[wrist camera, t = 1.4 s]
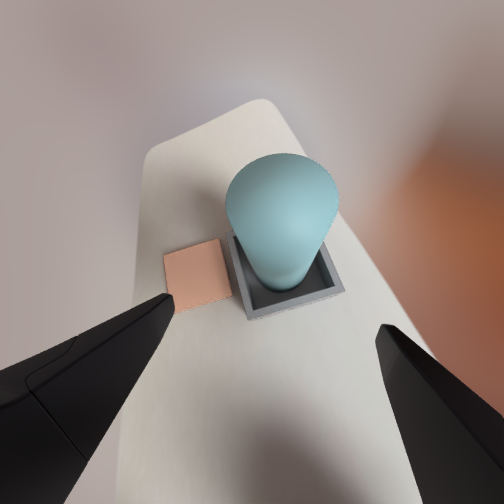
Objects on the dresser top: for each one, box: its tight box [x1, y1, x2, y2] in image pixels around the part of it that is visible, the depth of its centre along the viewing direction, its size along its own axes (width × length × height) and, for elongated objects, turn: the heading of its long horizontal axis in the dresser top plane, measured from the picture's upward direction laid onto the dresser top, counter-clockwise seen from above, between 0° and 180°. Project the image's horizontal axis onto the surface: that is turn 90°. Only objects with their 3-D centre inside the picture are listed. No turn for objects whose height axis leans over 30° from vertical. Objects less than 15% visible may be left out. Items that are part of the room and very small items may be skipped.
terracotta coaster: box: [163, 238, 233, 313], centre depth 22 cm, size 6×6×1 cm
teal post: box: [225, 153, 339, 293], centre depth 15 cm, size 5×5×12 cm
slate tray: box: [225, 230, 345, 321], centre depth 20 cm, size 8×8×3 cm
